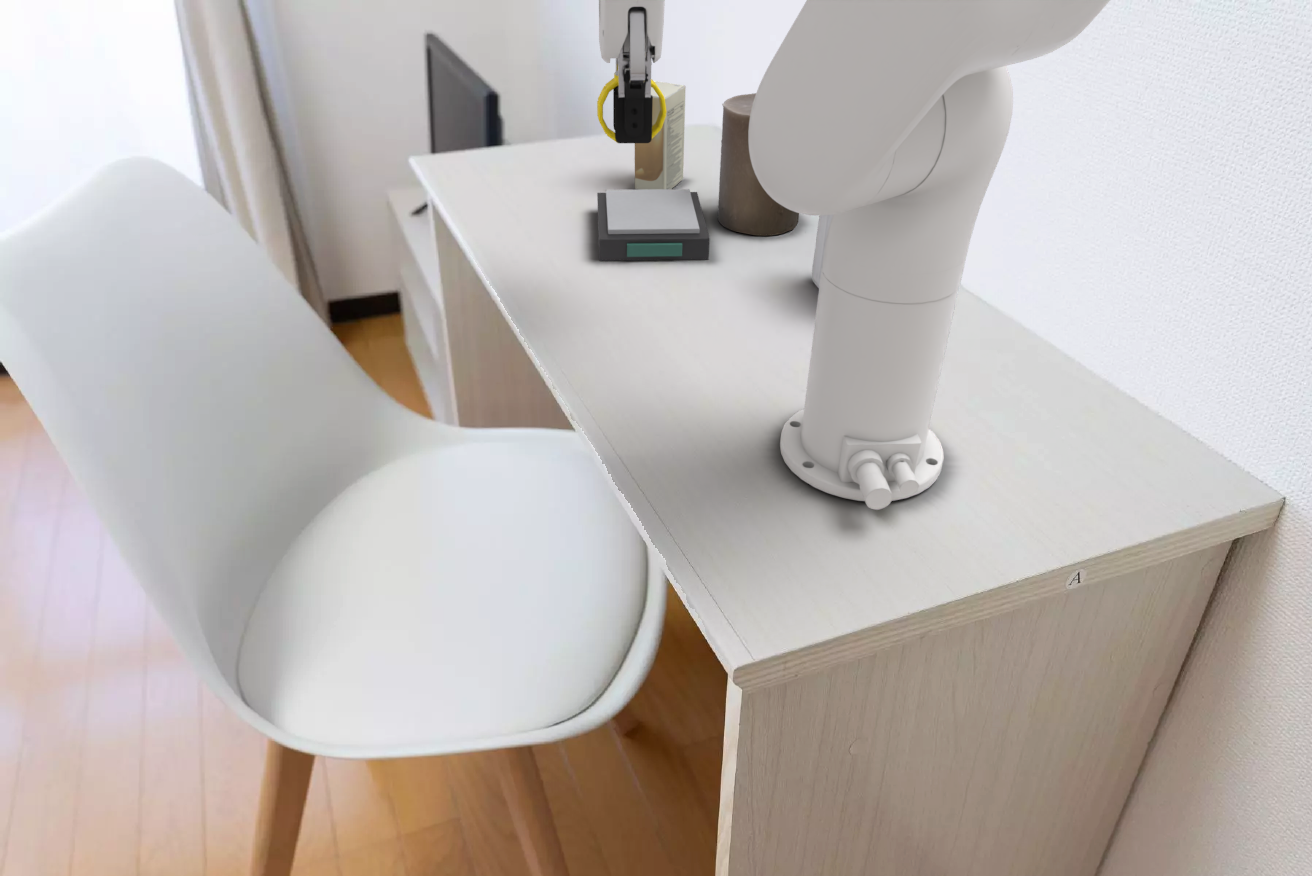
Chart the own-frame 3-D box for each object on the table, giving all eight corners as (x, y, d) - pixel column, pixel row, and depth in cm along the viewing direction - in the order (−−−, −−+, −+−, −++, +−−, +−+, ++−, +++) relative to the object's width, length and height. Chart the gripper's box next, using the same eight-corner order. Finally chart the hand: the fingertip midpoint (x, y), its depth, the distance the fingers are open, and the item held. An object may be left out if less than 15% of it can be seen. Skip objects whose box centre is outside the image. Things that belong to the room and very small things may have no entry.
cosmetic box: (654, 174, 128) (656, 79, 121) (684, 180, 126) (687, 84, 119) (632, 190, 123) (632, 92, 116) (663, 196, 122) (665, 97, 115)
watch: (662, 134, 88) (664, 67, 85) (667, 145, 86) (669, 76, 82) (596, 136, 87) (595, 68, 84) (600, 146, 85) (599, 77, 82)
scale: (709, 261, 106) (710, 234, 104) (599, 262, 105) (599, 235, 103) (696, 211, 118) (697, 186, 116) (597, 212, 117) (597, 187, 115)
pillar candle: (807, 234, 112) (822, 103, 104) (725, 238, 111) (733, 106, 102) (785, 203, 120) (797, 79, 112) (708, 207, 119) (715, 81, 110)
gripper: (584, -110, 82) (588, 109, 93) (589, -84, 69) (592, 168, 79) (672, -109, 82) (665, 109, 93) (693, -82, 69) (683, 168, 80)
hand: (632, 134), depth 86 cm, fingers closed on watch, 2 cm apart
